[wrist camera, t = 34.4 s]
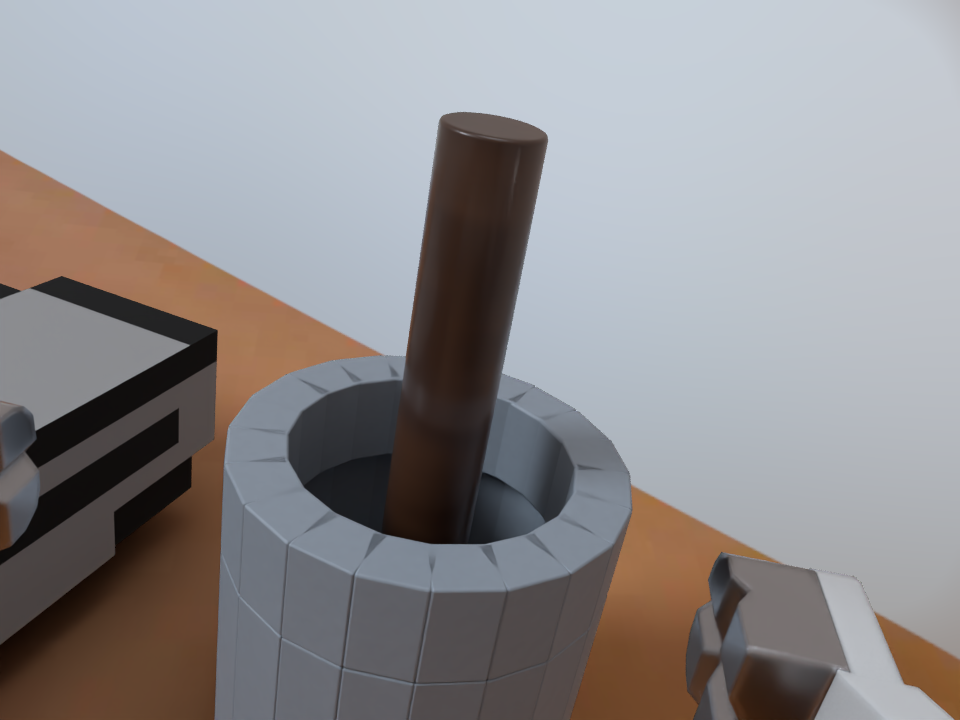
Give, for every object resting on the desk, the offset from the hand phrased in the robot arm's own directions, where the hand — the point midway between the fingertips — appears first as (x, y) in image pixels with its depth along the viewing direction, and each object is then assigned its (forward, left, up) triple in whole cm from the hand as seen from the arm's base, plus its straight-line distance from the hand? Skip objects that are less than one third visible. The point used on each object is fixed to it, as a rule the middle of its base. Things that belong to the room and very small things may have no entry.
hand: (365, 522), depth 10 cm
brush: (0, -9, -15) cm, 18 cm away
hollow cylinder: (0, -9, -16) cm, 18 cm away
